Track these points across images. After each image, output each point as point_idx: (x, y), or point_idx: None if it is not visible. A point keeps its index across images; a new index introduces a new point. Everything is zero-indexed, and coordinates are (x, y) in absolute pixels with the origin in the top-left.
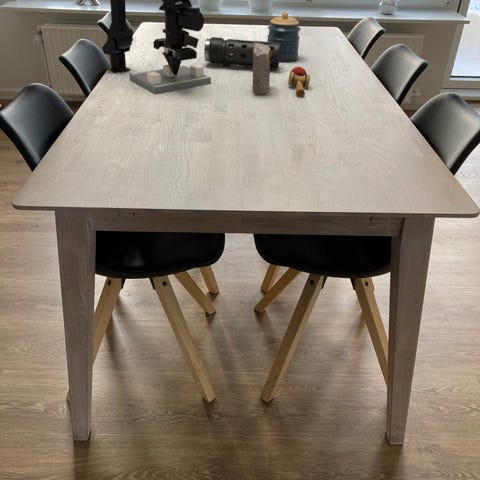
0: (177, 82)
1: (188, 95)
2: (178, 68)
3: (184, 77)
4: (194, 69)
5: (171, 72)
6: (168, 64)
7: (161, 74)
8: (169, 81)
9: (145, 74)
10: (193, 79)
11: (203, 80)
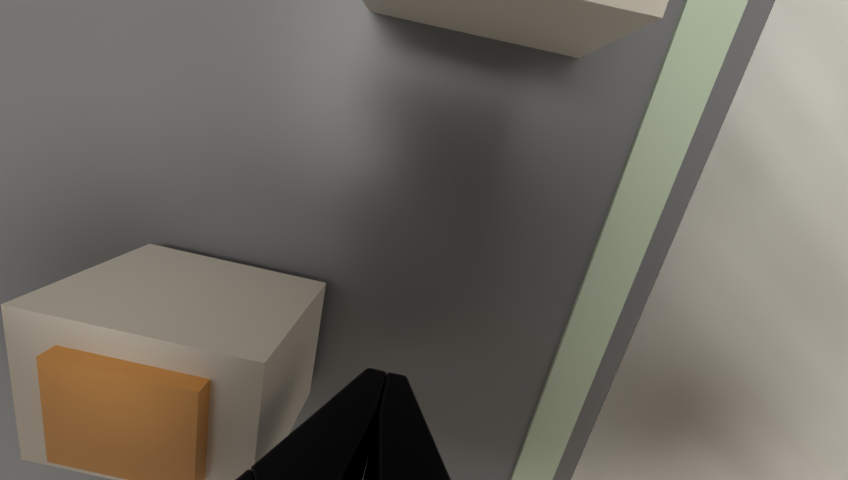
0: (543, 451)
1: (765, 462)
2: (436, 468)
3: (436, 221)
4: (546, 8)
5: (290, 402)
6: (44, 401)
7: None
8: None
9: (30, 467)
10: (632, 205)
11: (740, 44)
